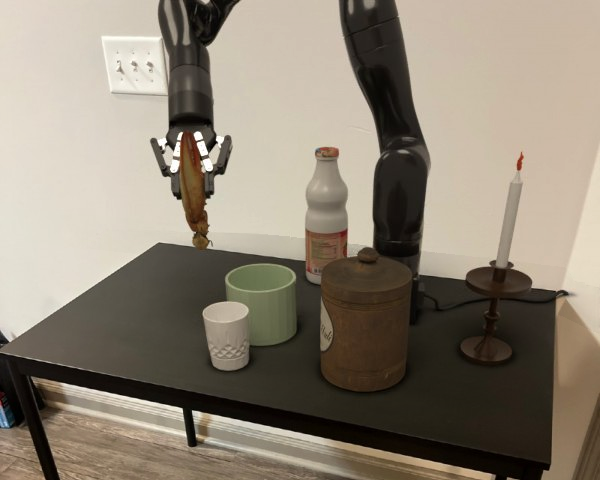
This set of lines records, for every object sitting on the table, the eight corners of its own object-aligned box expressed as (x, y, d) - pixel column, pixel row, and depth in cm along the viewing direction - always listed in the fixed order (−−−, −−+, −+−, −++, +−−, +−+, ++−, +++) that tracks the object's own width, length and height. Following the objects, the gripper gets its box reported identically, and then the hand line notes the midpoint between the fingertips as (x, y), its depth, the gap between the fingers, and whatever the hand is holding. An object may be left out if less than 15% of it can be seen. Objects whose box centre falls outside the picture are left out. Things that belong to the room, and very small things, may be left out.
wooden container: (336, 342, 114) (338, 228, 102) (413, 356, 110) (425, 238, 97) (308, 383, 103) (306, 260, 91) (393, 400, 99) (404, 273, 86)
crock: (300, 315, 124) (300, 264, 118) (292, 347, 113) (290, 293, 107) (237, 312, 125) (233, 262, 119) (223, 344, 115) (217, 290, 108)
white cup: (234, 377, 105) (229, 326, 99) (199, 365, 109) (193, 315, 103) (260, 357, 111) (257, 307, 105) (226, 346, 114) (221, 297, 108)
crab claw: (204, 260, 103) (178, 138, 91) (179, 258, 105) (149, 137, 93) (224, 243, 108) (201, 124, 96) (199, 241, 110) (174, 124, 98)
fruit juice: (298, 274, 141) (296, 147, 125) (334, 266, 144) (336, 142, 128) (317, 289, 134) (317, 156, 118) (354, 281, 138) (358, 151, 122)
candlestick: (508, 374, 104) (553, 162, 84) (446, 359, 109) (476, 154, 89) (522, 346, 112) (566, 146, 92) (464, 333, 117) (495, 139, 97)
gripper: (143, 89, 98) (144, 187, 95) (230, 86, 99) (234, 183, 96) (153, 118, 106) (154, 210, 103) (235, 115, 106) (238, 206, 103)
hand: (193, 196), depth 99 cm, fingers closed on crab claw, 4 cm apart
